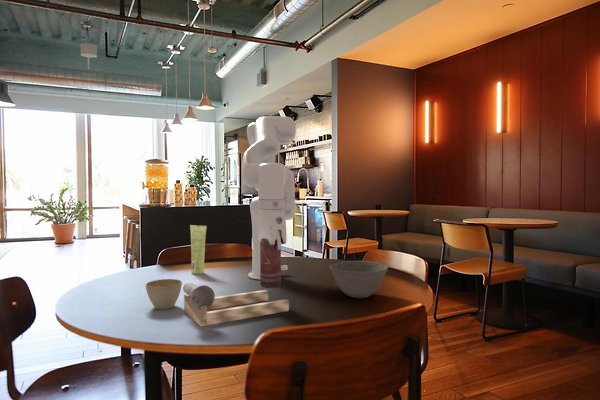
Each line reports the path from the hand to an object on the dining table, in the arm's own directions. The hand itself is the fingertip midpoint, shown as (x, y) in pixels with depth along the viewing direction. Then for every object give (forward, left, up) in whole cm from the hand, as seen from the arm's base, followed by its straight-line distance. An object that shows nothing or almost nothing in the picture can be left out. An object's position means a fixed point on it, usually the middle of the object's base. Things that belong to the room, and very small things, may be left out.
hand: (270, 267), depth 122 cm
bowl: (-29, +6, -12) cm, 31 cm away
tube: (+3, -56, -12) cm, 57 cm away
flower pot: (+27, -14, -12) cm, 33 cm away
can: (0, 0, -6) cm, 6 cm away
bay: (+12, +2, -11) cm, 17 cm away
